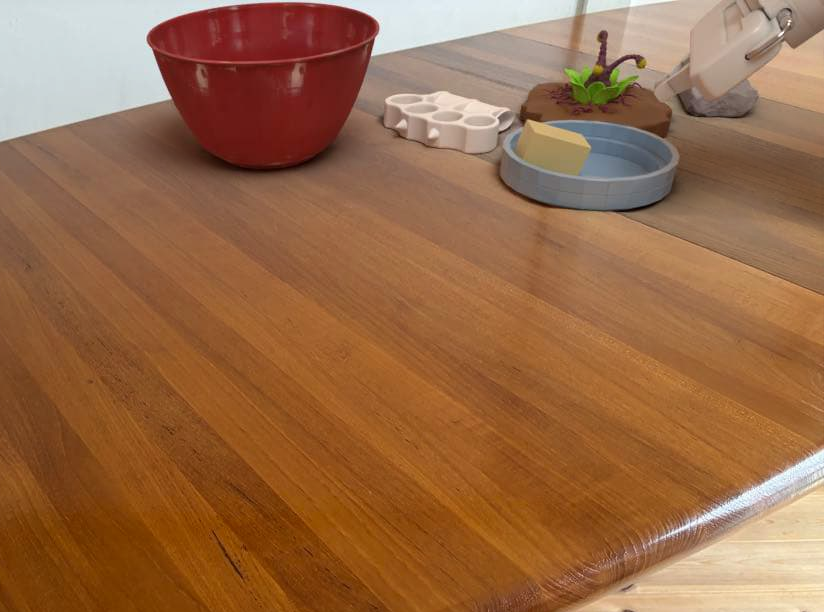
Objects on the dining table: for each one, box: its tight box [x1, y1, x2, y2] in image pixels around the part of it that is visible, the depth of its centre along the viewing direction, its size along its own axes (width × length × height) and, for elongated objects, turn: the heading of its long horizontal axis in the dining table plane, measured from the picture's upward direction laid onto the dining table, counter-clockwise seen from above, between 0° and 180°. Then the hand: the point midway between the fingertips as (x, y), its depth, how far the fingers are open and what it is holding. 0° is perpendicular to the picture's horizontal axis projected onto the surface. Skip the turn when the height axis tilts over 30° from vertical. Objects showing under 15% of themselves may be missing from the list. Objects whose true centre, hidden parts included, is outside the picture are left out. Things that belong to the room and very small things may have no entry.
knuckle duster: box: [383, 90, 515, 155], centre depth 112 cm, size 3×18×15 cm
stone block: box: [677, 78, 760, 118], centre depth 118 cm, size 12×5×10 cm
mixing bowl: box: [146, 1, 381, 170], centre depth 105 cm, size 28×28×16 cm
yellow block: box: [513, 119, 591, 176], centre depth 96 cm, size 4×4×7 cm
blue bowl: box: [499, 120, 681, 212], centre depth 97 cm, size 20×20×4 cm
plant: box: [519, 29, 673, 138], centre depth 112 cm, size 20×20×11 cm
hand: (657, 94), depth 90 cm, fingers closed
